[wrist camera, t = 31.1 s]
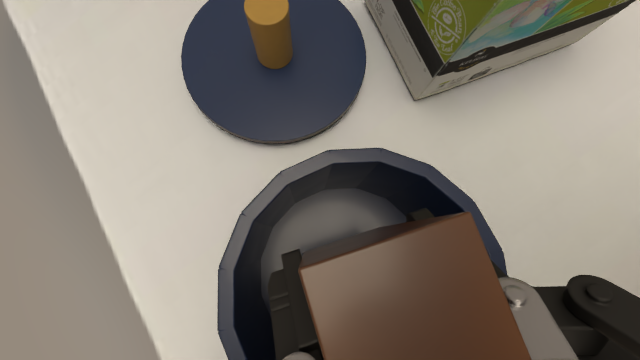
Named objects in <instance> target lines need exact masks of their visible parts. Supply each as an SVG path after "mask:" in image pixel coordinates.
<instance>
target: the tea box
mask: <svg viewBox="0 0 640 360" xmlns="http://www.w3.org/2000/svg"><path fill="white" fill-rule="evenodd" d="M634 1H636V0H365V2H366V4H367V6H368V9H369V11H370V12H371V14H372V16H373V18H374V20H375V22H376V24H377V26H378V28H379V30H380V32H381V34H382V36H383V38H384V40H385V42H386V44H387V46H388V49H389V51H390V52H391V54H392V56H393V58H394V60H395V62H396V64H397V66H398V68H399V70H400V72H401V74H402V76H403V78H404V81H405V83H406V84H407V86H408V88H409V90H410V92H411V94H412V96H413V98H414V100H418V99H421V98H424V97H427V96H430V95H433V94H436V93H439V92H442V91H445V90H448V89H451V88H453V87H455V86H458V85H461V84H464V83H467V82H470V81H473V80H476V79H478V78H481V77H484V76H486V75H489V74H491V73H494V72H497V71H500V70H502V69H505V68H508V67H511V66H514V65H517V64H520V63H522V62H524V61H527V60H529V59H532V58H535V57H538V56H541V55H544V54H547V53H549V52H552V51H555V50H557V49H559V48H562V47H565V46H567V45H570V44H573V43H575V42H577V41H579V40H580V39H582V38H583V37H584V36H586V35H587V34H589V33H590V32H592V31H593V30H594V29H596V28H597V27H599V26H600V25H601V24H603V23H604V22H606V21H607V20H608V19H610V18H611V17H613V16H614V15H615V14H617V13H619V12H620V11H621V10H623V9H624V8H626V7H627V6H628V5H630V4H631V3H632V2H634Z"/></svg>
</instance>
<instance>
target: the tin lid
mask: <svg viewBox="0 0 640 360" xmlns="http://www.w3.org/2000/svg"><path fill="white" fill-rule="evenodd" d="M181 59H182V71H183V76H184V80H185V83H186V86H187V89H188V91H189V93H190V95H191V96H192V98H193V100H194V101H195V103H196V104H197V105H198V107H199V108H200V109H201V111H202V112H203V113H204V114H205V115H206V116H207V117H208V118H209V119H210V120H211V121H212V122H214V123H215V124H216V125H218V126H219V127H220V128H222V129H224V130H225V131H227V132H229V133H231V134H233V135H235V136H238V137H240V138H243V139H247V140H250V141H254V142H261V143H288V142H294V141H298V140H302V139H305V138H308V137H311V136H313V135H316V134H318V133H319V132H321V131H323V130H325V129H327V128H328V127H329V126H331V125H332V124H334V123H335V122H336V121H337V120H338V119H339V118H340V117H342V116H343V115H344V113H345V112H346V111H347V110H348V109H349V107H350V106H351V105H352V103H353V101H354V100H355V98H356V96H357V94H358V92H359V89H360V87H361V84H362V81H363V77H364V74H365V66H366V51H365V45H364V40H363V37H362V34H361V31H360V29H359V27H358V24H357V22H356V21H355V19H354V18H353V16H352V15H351V13H350V12H349V11H348V9H347V8H346V7H345V6H344V5H343V4H342V3H341V2H340V1H339V0H209V1H208V2H207V3H206V4H205V5H204V6H202V8H201V9H200V10H199V11H198V13H197V14H196V15H195V17H194V18H193V20H192V22H191V23H190V25H189V28H188V30H187V32H186V35H185V38H184V42H183V47H182V55H181Z"/></svg>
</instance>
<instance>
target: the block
mask: <svg viewBox="0 0 640 360" xmlns="http://www.w3.org/2000/svg"><path fill="white" fill-rule="evenodd" d="M298 273H299V276H300V280H301V283H302V286H303V290H304V293H305V297H306V300H307V303H308V307H309V310H310V314H311V317H312V321H313V324H314V327H315V331H316V334H317V338H318V341H319V344H320V348H321V351H322V355H323V358H324V360H532V359H531V357H530V354H529V352H528V349H527V347H526V345H525V342H524V340H523V337H522V335H521V332H520V330H519V328H518V325H517V323H516V320H515V318H514V316H513V313H512V311H511V308H510V306H509V303H508V301H507V299H506V296H505V294H504V291H503V289H502V287H501V284H500V282H499V279H498V277H497V275H496V272H495V270H494V267H493V265H492V262H491V260H490V258H489V255H488V253H487V250H486V248H485V246H484V243H483V241H482V238H481V236H480V234H479V231H478V229H477V226H476V224H475V221H474V219H473V217H472V214H471V213H470V212H462V213H457V214H451V215H445V216H439V217H434V218H428V219H422V220H417V221H411V222H405V223H400V224H394V225H388V226H383V227H378V228H375V229H372V230H369V231H366V232H363V233H360V234H357V235H354V236H351V237H348V238H345V239H342V240H339V241H336V242H333V243H330V244H327V245H324V246H321V247H317V248H314V249H311V250H308V251H305V252H304V253H303V256H302V259H301V262H300V266H299V269H298Z"/></svg>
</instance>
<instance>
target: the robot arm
mask: <svg viewBox="0 0 640 360" xmlns="http://www.w3.org/2000/svg"><path fill="white" fill-rule="evenodd" d="M428 218H434V215H433V214H432V213H431V212H430V211H429V210H428V209H427V208H423V209H420V210H417V211H414V212H410V213H407V215H406V222H411V221H417V220H422V219H428ZM281 258H282V263H283V269H281V270H278V271H275V272H272V273H271V276H270V279H269V283H268V295H269V301H270V302H269V303H270V310H271V320H272V328H273V336H274V345H275V353H276V360H324V358H323V355H322V351H321V348H320V344H319V341H318V338H317V334H316V331H315V327H314V324H313V321H312V317H311V314H310V310H309V307H308V303H307V300H306V297H305V293H304V290H303V286H302V283H301V280H300V276H299V273H298V269H299V266H300V262H301V259H302V255H301V252H300V249H297V250H294V251H290V252H287V253H284V254H281ZM490 260H491V259H490ZM491 262H492V265H493V267H494V270H495V272H496V275H497V277H498V279H499V282H500V284H501V287H502V289H503V291H504V294H505V296H506V299H507V301H508V303H509V306H510V308H511V311H512V313H513V316H514V318H515V320H516V323H517V325H518V328H519V330H520V332H521V335H522V337H523V340H524V342H525V345H526V347H527V349H528V352H529V354H530V357H531V359H532V360H640V298H639V297H637V296H635V295H633V294H631V293H629V292H628V291H626V290H624V289H622V288H620V287H618V286H617V285H615V284H613V283H611V282H609V281H607V280H605V279H602V278H599V277H596V276H591V275H578V276H575V277H573V278H571V279H570V280H569V282H568V284H567V286H558V287H533V286H530V285H528V284H527V283H525V282H523V281H521V280H518V279H515V278H510V277H508V276H507V275H506V274H505V273H504V272H503V271H502V270H501V269H500V268H499V267H498V266H497V265H496V264H495V263H494V262H493V261H492V260H491Z"/></svg>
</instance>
